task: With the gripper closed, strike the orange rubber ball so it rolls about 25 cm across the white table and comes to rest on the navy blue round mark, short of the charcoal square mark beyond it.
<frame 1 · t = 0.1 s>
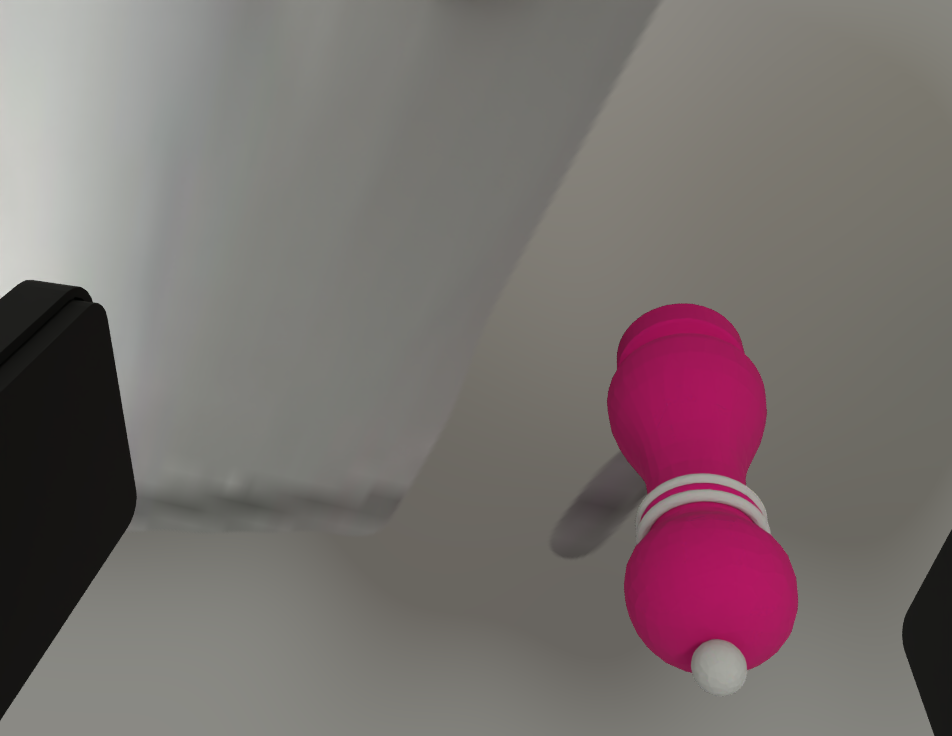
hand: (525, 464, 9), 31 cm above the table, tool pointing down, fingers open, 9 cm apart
pepper mill: (678, 353, 44), on the table
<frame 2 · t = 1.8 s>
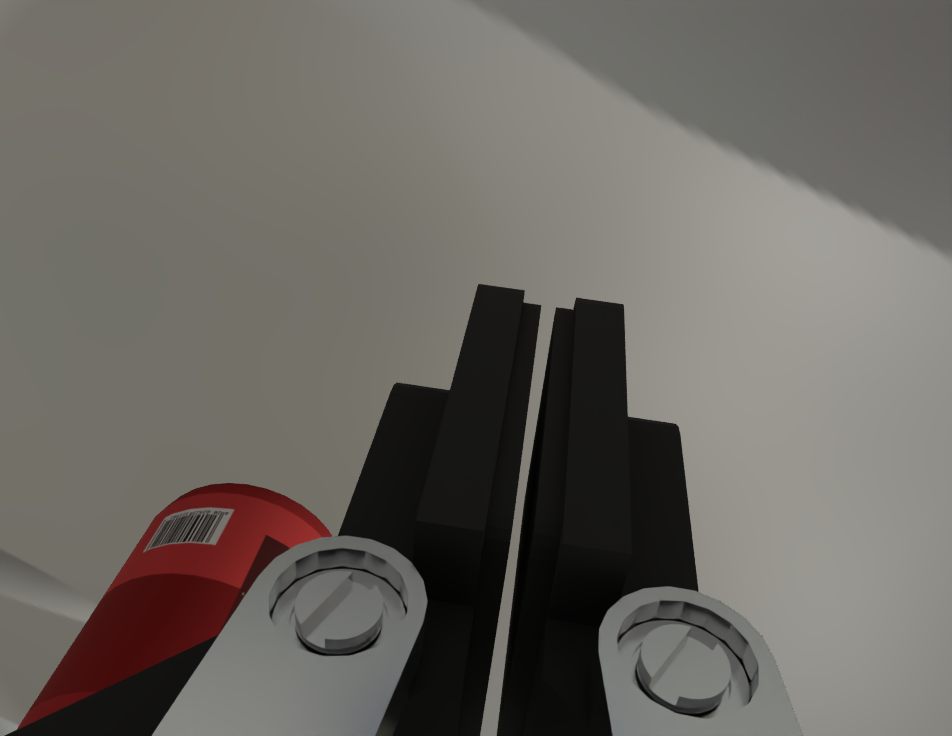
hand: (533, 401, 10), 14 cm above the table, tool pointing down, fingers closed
canned food: (252, 549, 34), on the table
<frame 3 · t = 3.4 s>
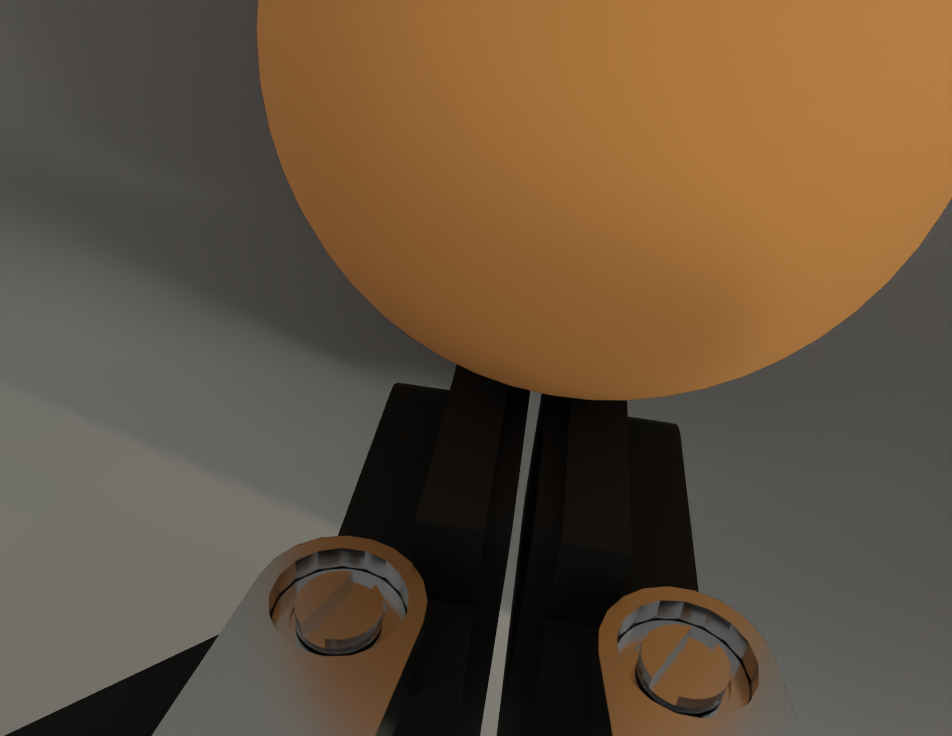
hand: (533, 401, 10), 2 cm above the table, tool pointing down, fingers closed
ball: (610, 57, 7), on the table, touching gripper
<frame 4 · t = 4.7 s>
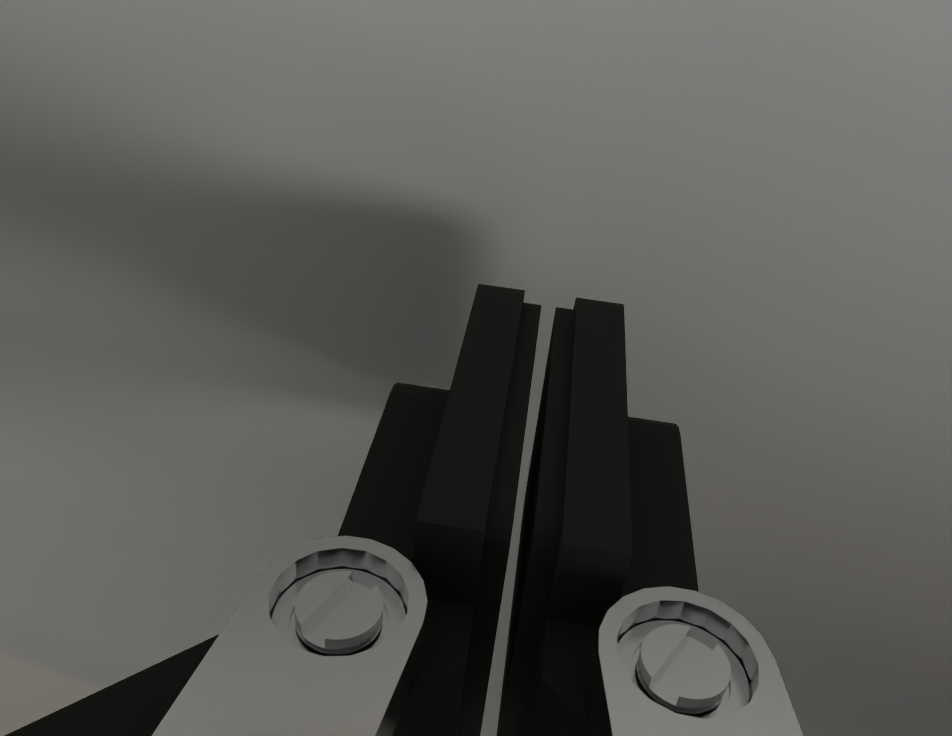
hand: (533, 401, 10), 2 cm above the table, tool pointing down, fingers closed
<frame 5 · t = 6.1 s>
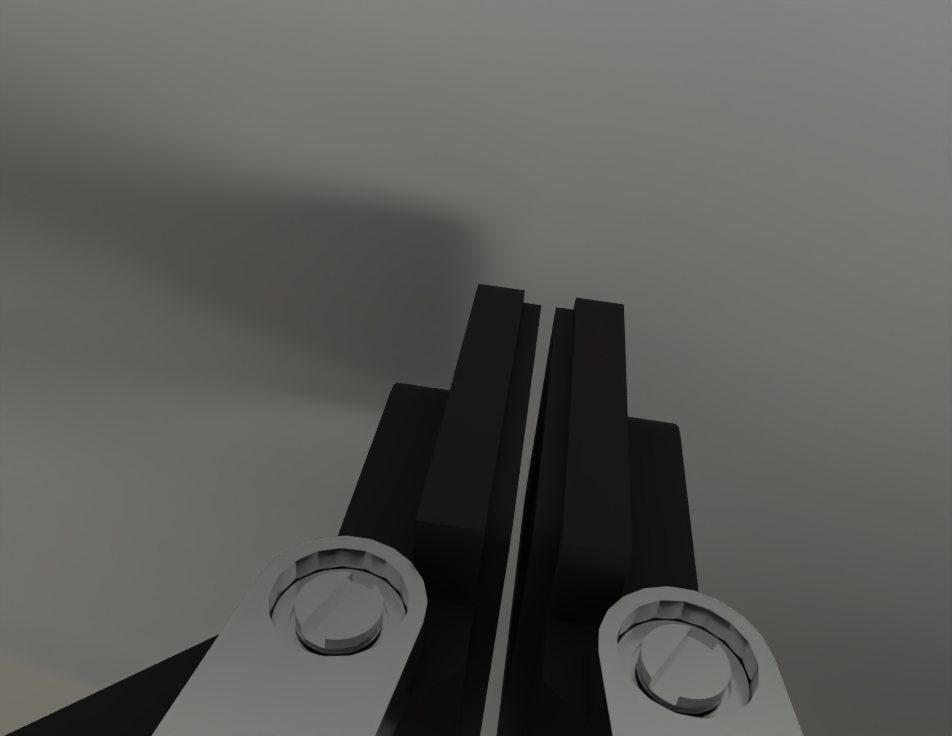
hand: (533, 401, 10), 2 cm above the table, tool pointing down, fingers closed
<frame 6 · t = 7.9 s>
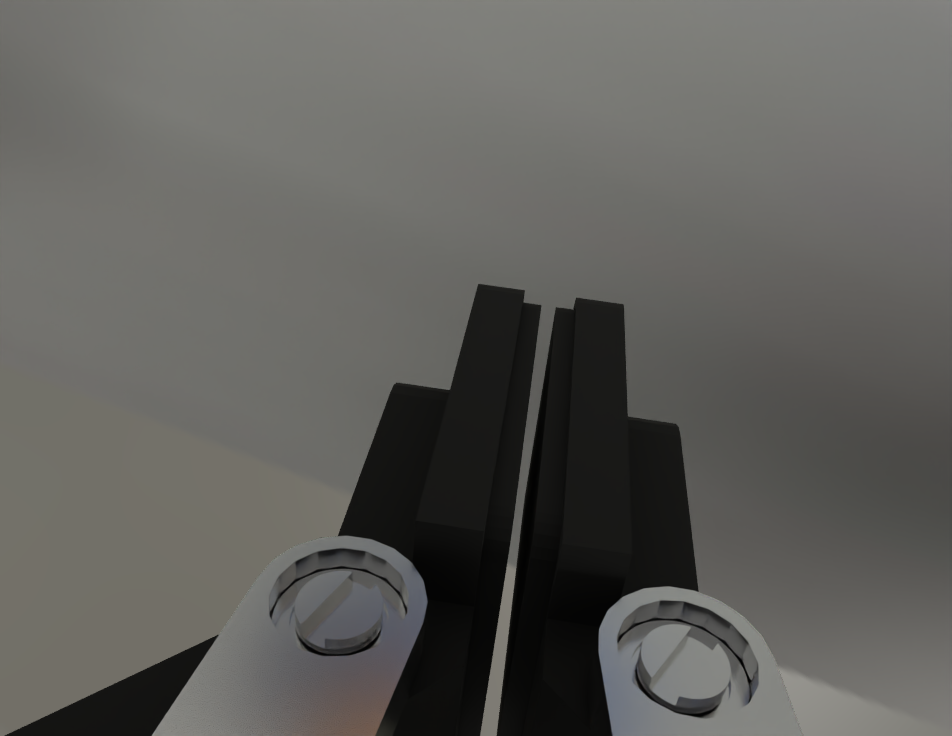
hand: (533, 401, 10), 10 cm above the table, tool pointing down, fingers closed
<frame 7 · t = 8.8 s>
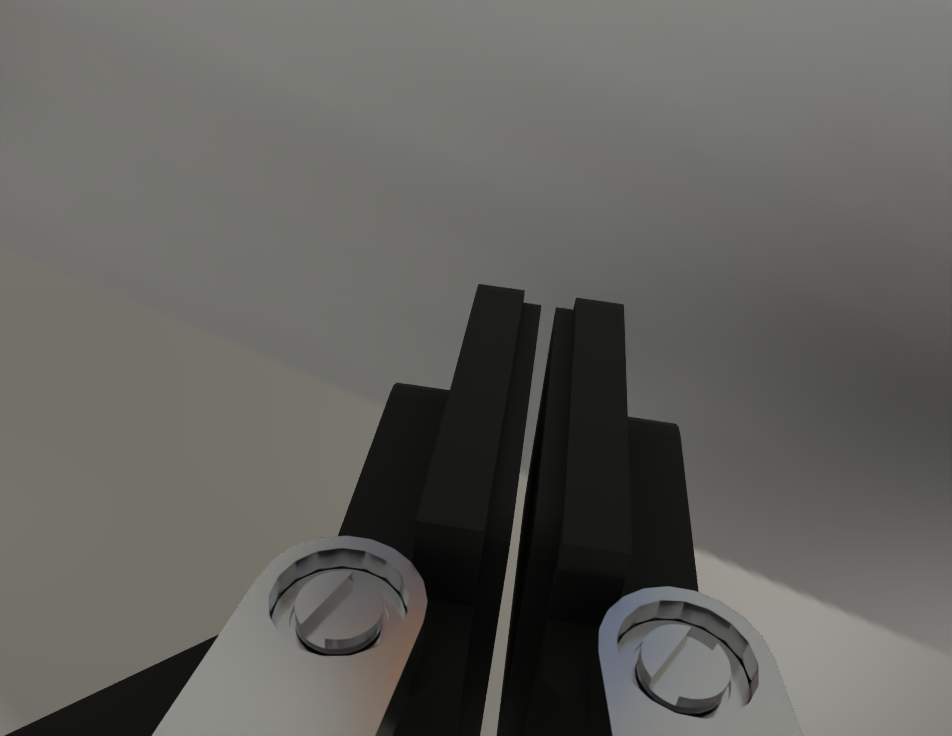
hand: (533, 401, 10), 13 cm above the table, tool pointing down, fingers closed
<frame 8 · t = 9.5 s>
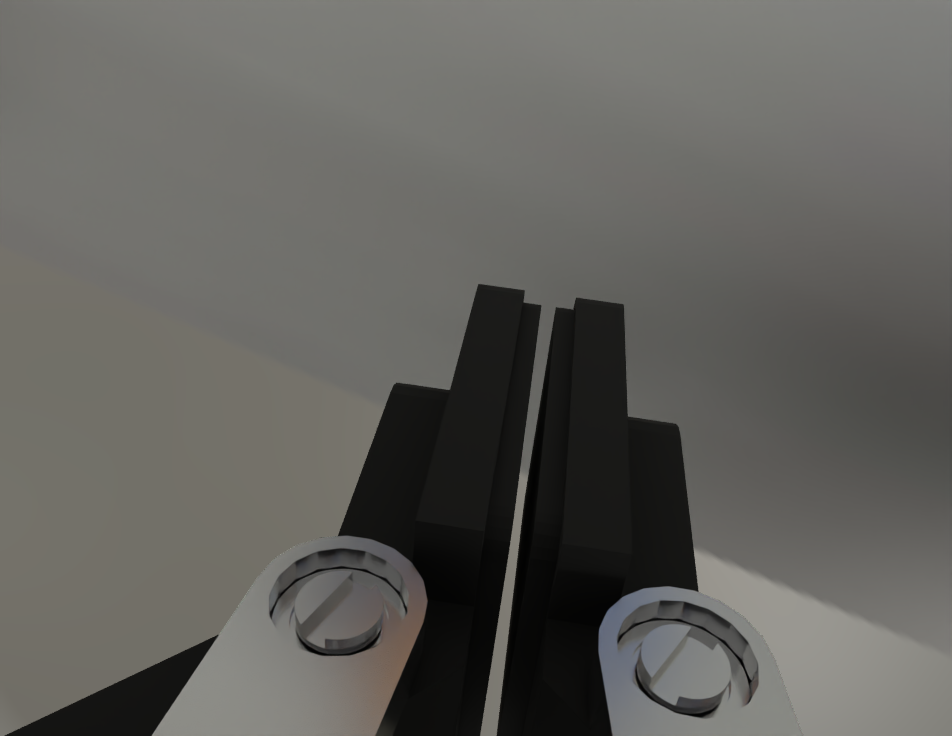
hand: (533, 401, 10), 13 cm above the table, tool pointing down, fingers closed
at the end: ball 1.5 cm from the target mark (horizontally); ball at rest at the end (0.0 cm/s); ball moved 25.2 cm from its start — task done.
